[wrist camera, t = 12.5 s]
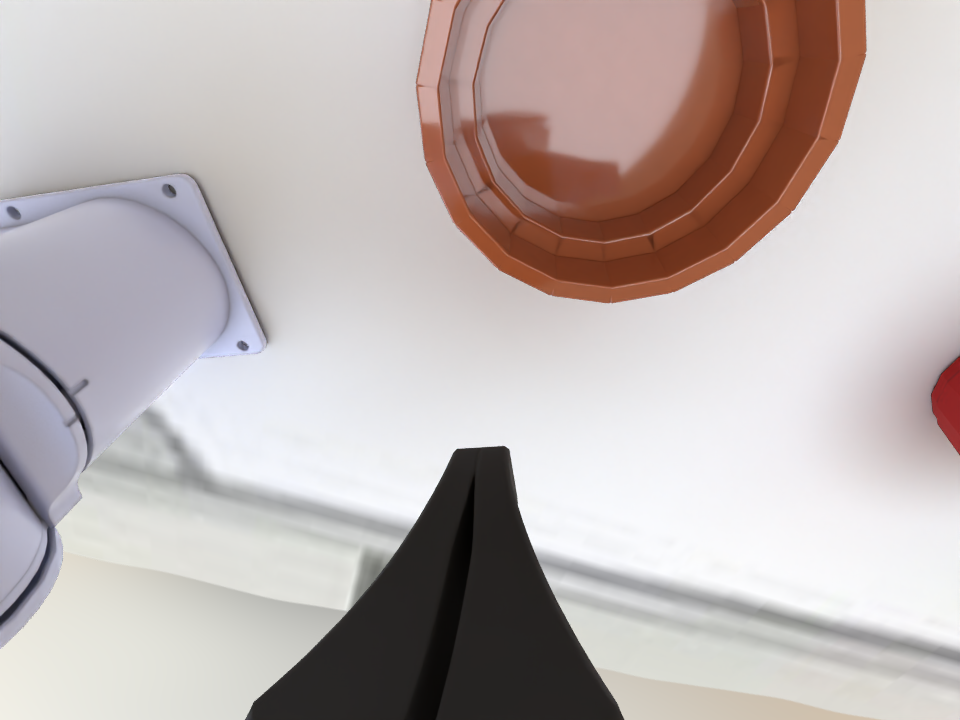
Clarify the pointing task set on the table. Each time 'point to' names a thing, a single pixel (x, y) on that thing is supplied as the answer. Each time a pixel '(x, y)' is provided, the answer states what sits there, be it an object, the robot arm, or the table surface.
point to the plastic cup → (948, 403)
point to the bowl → (630, 130)
